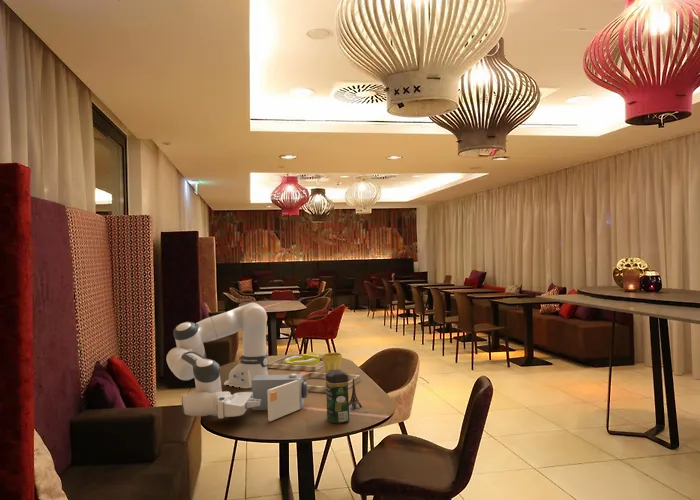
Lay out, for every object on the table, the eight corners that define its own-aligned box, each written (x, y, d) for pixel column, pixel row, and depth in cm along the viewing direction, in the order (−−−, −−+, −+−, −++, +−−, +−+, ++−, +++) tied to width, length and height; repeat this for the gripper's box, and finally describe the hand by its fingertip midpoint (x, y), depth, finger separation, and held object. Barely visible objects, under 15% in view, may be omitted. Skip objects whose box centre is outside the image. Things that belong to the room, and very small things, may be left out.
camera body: (252, 410, 215) (251, 377, 215) (256, 403, 224) (255, 372, 224) (306, 408, 215) (305, 376, 215) (308, 402, 224) (307, 371, 224)
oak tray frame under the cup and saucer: (284, 389, 247) (284, 384, 247) (308, 377, 271) (308, 372, 271) (340, 393, 237) (340, 388, 237) (360, 380, 261) (360, 375, 261)
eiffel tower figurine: (338, 404, 222) (337, 372, 222) (362, 403, 223) (361, 371, 223) (342, 415, 207) (341, 381, 207) (368, 413, 208) (367, 379, 208)
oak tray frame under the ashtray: (266, 368, 294) (266, 363, 294) (287, 359, 317) (287, 355, 317) (314, 371, 284) (314, 366, 284) (332, 362, 307) (332, 357, 307)
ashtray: (324, 364, 303) (324, 355, 303) (298, 371, 287) (297, 361, 287) (304, 361, 313) (304, 352, 313) (277, 367, 298) (277, 358, 298)
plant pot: (327, 370, 286) (327, 352, 286) (345, 371, 282) (344, 352, 282) (319, 374, 276) (318, 355, 276) (337, 375, 273) (337, 356, 273)
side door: (272, 422, 198) (271, 389, 198) (267, 421, 199) (267, 388, 199) (303, 409, 214) (302, 378, 214) (299, 408, 215) (298, 378, 215)
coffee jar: (324, 417, 203) (323, 368, 203) (344, 415, 205) (343, 367, 205) (330, 425, 194) (329, 374, 194) (351, 422, 196) (350, 372, 196)
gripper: (231, 404, 213) (265, 403, 213) (217, 420, 192) (255, 419, 192) (230, 388, 213) (265, 387, 213) (217, 402, 192) (255, 401, 192)
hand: (260, 402), depth 202 cm, fingers closed
